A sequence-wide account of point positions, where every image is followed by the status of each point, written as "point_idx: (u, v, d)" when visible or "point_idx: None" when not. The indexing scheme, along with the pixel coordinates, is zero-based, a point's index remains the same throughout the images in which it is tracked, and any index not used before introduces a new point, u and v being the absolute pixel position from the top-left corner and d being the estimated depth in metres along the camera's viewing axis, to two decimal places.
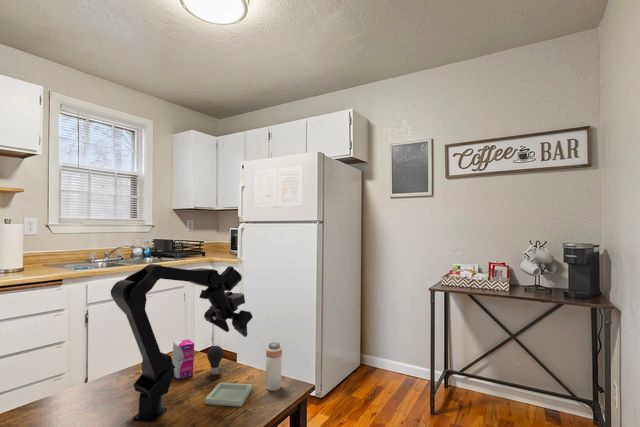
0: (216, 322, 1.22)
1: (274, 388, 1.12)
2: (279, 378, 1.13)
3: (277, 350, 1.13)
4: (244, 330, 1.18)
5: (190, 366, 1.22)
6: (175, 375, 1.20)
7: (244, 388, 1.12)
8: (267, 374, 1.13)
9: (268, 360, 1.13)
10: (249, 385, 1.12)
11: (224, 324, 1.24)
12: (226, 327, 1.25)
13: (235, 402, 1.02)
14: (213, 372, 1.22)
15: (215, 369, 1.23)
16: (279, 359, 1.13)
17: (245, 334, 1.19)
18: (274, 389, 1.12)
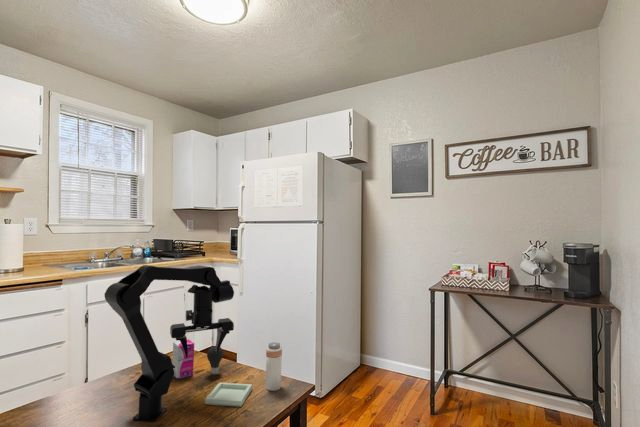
0: None
1: (274, 388, 1.12)
2: (279, 378, 1.13)
3: (277, 350, 1.13)
4: None
5: (190, 366, 1.22)
6: (175, 375, 1.20)
7: (244, 388, 1.12)
8: (267, 374, 1.13)
9: (268, 360, 1.13)
10: (249, 385, 1.12)
11: None
12: None
13: (235, 402, 1.02)
14: (213, 372, 1.22)
15: (215, 369, 1.23)
16: (279, 359, 1.13)
17: None
18: (274, 389, 1.12)
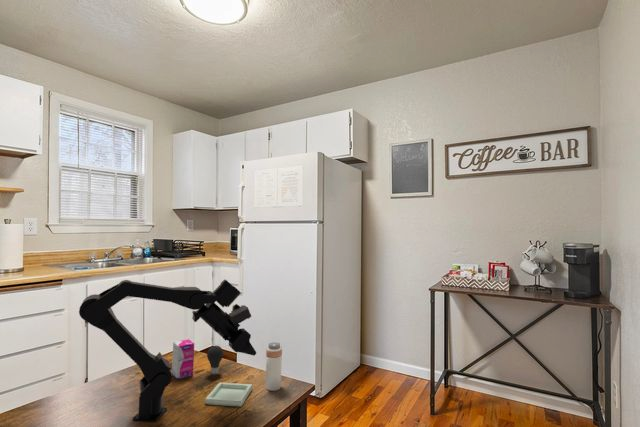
0: (228, 338, 1.13)
1: (274, 388, 1.12)
2: (279, 378, 1.13)
3: (277, 350, 1.13)
4: (249, 349, 1.05)
5: (190, 366, 1.22)
6: (175, 375, 1.20)
7: (244, 388, 1.12)
8: (267, 374, 1.13)
9: (268, 360, 1.13)
10: (249, 385, 1.12)
11: None
12: None
13: (235, 402, 1.02)
14: (213, 372, 1.22)
15: (215, 369, 1.23)
16: (279, 359, 1.13)
17: (252, 353, 1.06)
18: (274, 389, 1.12)
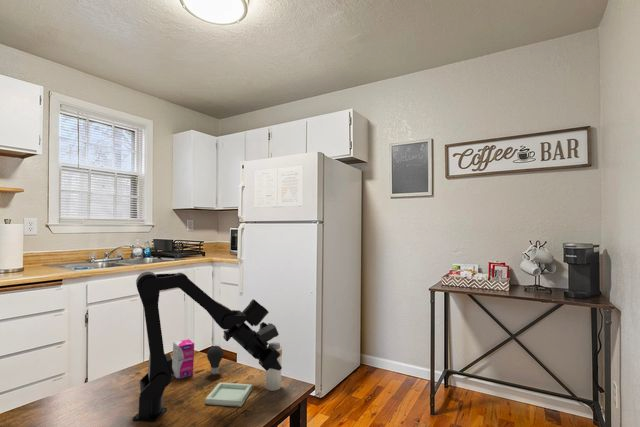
0: (258, 356, 1.15)
1: (274, 388, 1.12)
2: (279, 378, 1.13)
3: (277, 350, 1.13)
4: (275, 365, 1.11)
5: (190, 366, 1.22)
6: (175, 375, 1.20)
7: (244, 388, 1.12)
8: (267, 374, 1.13)
9: None
10: (249, 385, 1.12)
11: None
12: None
13: (235, 402, 1.02)
14: (213, 372, 1.22)
15: (215, 369, 1.23)
16: (279, 359, 1.13)
17: (278, 368, 1.12)
18: (274, 389, 1.12)
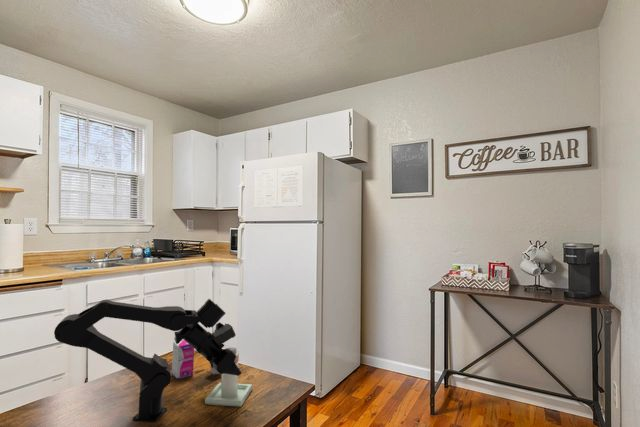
0: None
1: (230, 396, 1.05)
2: (235, 385, 1.07)
3: None
4: (233, 370, 1.03)
5: (190, 366, 1.22)
6: (175, 375, 1.20)
7: (244, 388, 1.12)
8: (222, 382, 1.06)
9: None
10: (249, 385, 1.12)
11: None
12: None
13: (235, 402, 1.02)
14: (213, 372, 1.22)
15: (215, 369, 1.23)
16: None
17: (237, 373, 1.04)
18: (230, 397, 1.05)
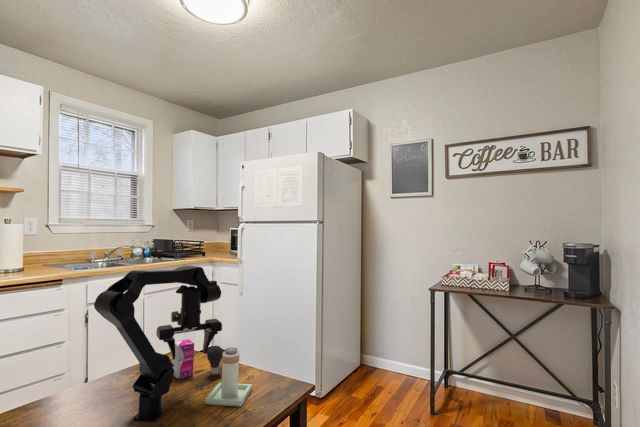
0: None
1: (230, 396, 1.05)
2: (236, 385, 1.07)
3: (234, 355, 1.06)
4: None
5: (190, 366, 1.22)
6: (175, 375, 1.20)
7: (244, 388, 1.12)
8: (223, 381, 1.06)
9: (224, 366, 1.06)
10: (249, 385, 1.12)
11: None
12: None
13: (235, 402, 1.02)
14: (213, 372, 1.22)
15: (215, 369, 1.23)
16: (236, 365, 1.07)
17: None
18: (230, 397, 1.05)
